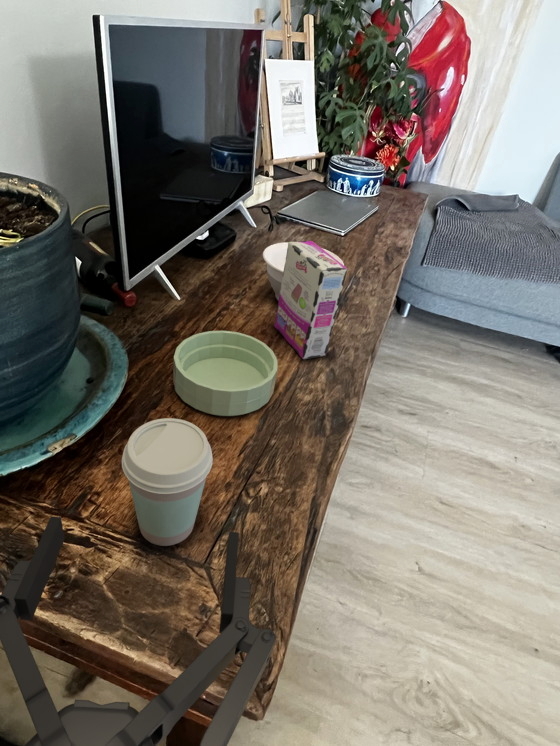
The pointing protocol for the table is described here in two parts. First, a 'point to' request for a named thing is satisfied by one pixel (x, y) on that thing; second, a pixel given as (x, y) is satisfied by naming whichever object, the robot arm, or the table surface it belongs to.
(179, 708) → the robot arm
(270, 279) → the bowl
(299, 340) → the candy bar box
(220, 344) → the celadon bowl
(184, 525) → the coffee cup
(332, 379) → the table surface
